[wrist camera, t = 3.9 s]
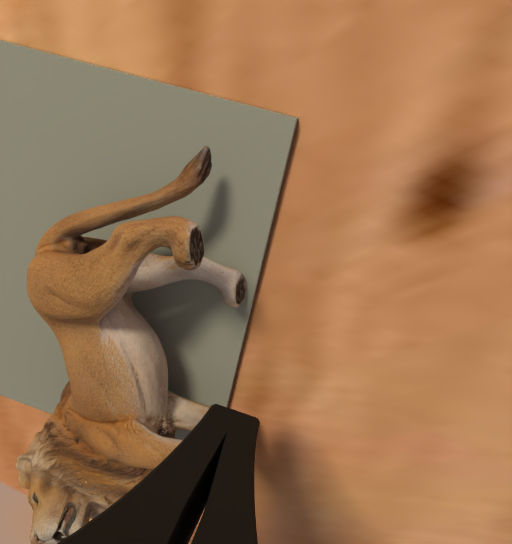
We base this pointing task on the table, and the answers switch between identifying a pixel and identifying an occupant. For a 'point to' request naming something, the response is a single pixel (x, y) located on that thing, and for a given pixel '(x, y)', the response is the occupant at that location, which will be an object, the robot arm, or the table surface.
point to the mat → (124, 185)
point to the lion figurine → (111, 353)
